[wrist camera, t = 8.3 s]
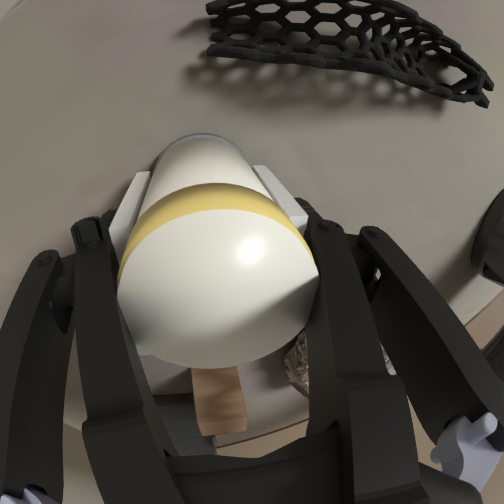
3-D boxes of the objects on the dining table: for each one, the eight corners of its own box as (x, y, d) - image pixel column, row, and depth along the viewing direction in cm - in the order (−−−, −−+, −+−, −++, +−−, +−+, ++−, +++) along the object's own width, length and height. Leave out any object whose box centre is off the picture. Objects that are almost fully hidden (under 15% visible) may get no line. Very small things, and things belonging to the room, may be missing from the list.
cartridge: (252, 132, 15) (344, 212, 6) (247, 221, 19) (302, 356, 10) (148, 137, 14) (85, 228, 5) (157, 228, 18) (142, 374, 9)
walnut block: (235, 361, 29) (247, 417, 23) (234, 381, 31) (246, 430, 26) (190, 366, 28) (197, 423, 22) (195, 386, 30) (202, 436, 25)
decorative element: (206, 74, 13) (215, 67, 8) (202, 0, 10) (211, -38, 5) (459, 105, 16) (507, 124, 12) (461, 58, 13) (511, 69, 9)
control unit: (212, 391, 32) (231, 489, 21) (216, 416, 38) (232, 493, 26) (135, 395, 30) (140, 492, 19) (153, 420, 35) (161, 497, 24)
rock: (392, 275, 27) (264, 329, 27) (424, 316, 21) (279, 382, 22) (386, 336, 34) (290, 378, 35) (407, 371, 29) (302, 417, 29)
